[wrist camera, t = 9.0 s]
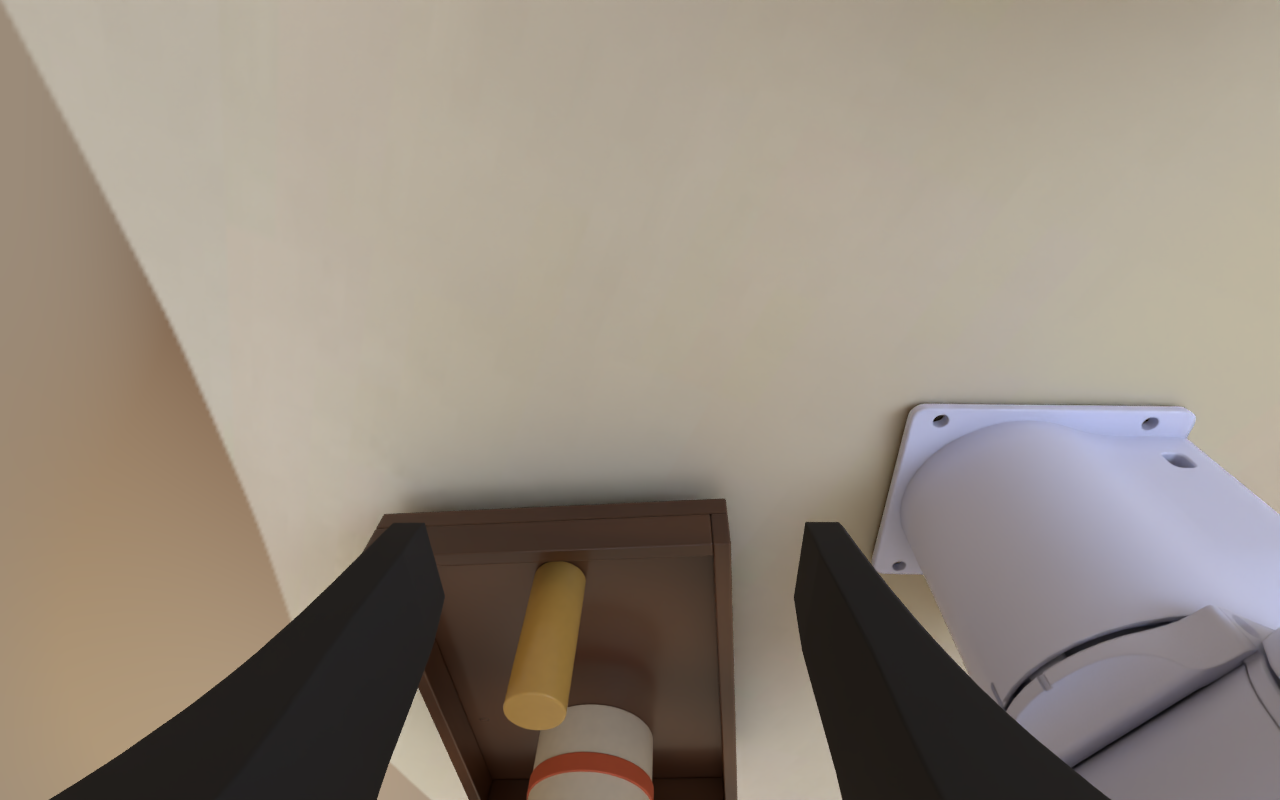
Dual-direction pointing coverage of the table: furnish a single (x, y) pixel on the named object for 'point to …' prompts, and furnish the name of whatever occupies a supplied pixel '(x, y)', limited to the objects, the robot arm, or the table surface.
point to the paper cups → (594, 757)
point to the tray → (583, 636)
